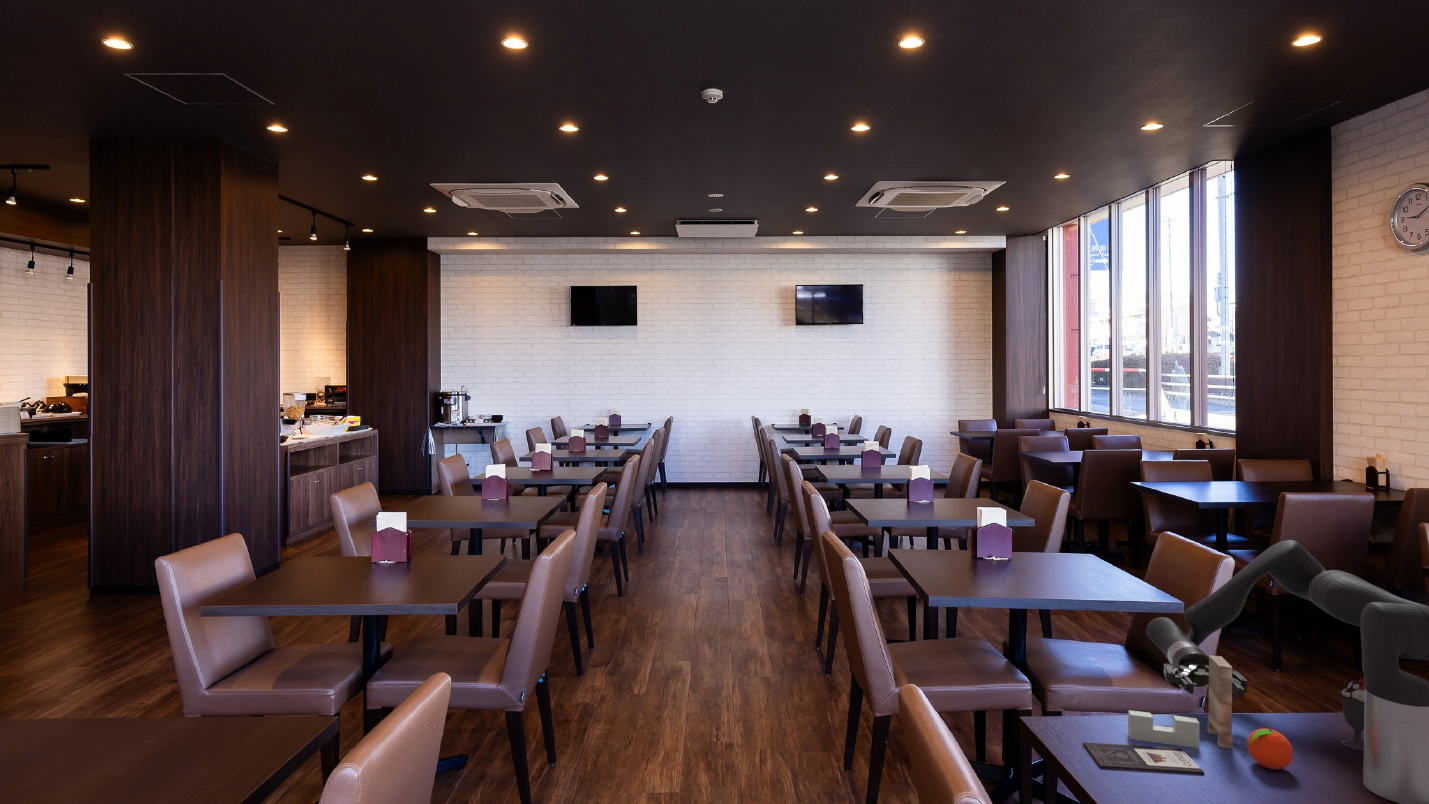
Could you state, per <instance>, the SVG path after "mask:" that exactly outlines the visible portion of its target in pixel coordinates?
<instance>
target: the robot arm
mask: <svg viewBox="0 0 1429 804" xmlns="http://www.w3.org/2000/svg"><path fill="white" fill-rule="evenodd" d="M1267 574H1268V575H1270V576H1271V578H1273V579H1274V581H1276V582H1277V583H1278V585H1280V586H1281V587H1282V588H1283V589H1284V590H1285V591H1287V592H1288V593H1290V594H1291V595H1294V596H1296V597H1299V598H1302V599H1304V600H1307V601H1310V602H1312V604H1313V605H1315V606H1317V608H1319V609H1321V610H1322V611H1323V612H1324V613H1326V614H1328V615H1330V616H1332V617H1333V618H1335V619H1336V620H1339V621H1341V622H1344V623H1346V624H1349V625H1352V626H1355V627H1356V626H1357V627H1360V641H1361V643H1360V645H1361V664H1362V665H1361V666H1362V673H1363V678H1364V679H1365V708H1364V730H1363V742H1364V752H1363V766H1362V768H1363V770H1362V776H1363V777H1362V784H1363V786H1364V787H1365V788H1366V789H1367V790H1368V791H1370V792H1371V793H1373V794H1375V795H1376V796H1378V797H1380V798H1383V799H1385V800H1388V801H1392V802H1394V803H1398V804H1429V681H1428V680H1426V679H1424V678H1423V677H1419V676H1418V675H1414V674H1412V673H1409V672H1407V671H1404V670H1401V669H1400V664H1399V659H1410V660H1420V661H1421V660H1422V661H1423V660H1424V661H1429V606H1428V605H1425V604H1423V603H1419V602H1415V601H1412V600H1409V599H1407V598H1402V597H1400V596H1398V595H1395V594H1393V593H1391V592H1389V591H1387V590H1385V589H1383V588H1381V587H1378V586H1377V585H1374V584H1372V583H1370V582H1368V581H1366V580H1364V579H1363V578H1361V577H1359V576H1356V575H1354V574H1353V573H1349V572H1346V571H1343V570H1340V569H1338V570H1337V569H1331V570H1327V569H1326V568H1325V567H1324V566H1323V565H1322V563H1320V562H1319V561H1318V560H1317V559H1316V557H1314V556H1313V555H1312V554H1311V553H1310V552H1309V551H1308V550H1307V549H1306V548H1305V547H1304V546H1303V545H1302V544H1301V543H1299V541H1296V540H1293V539H1285V540H1282V541H1279V542H1276V543H1274V544H1273V545H1271V546H1270V547H1267V549H1265V550H1264V551H1262V552H1261V553H1260V554H1259V555H1257V556H1256V557H1255V558H1254V559H1252V560H1251V561H1250V562H1249V563H1248V564H1246V565H1245V566H1244V567H1243V568H1242V569H1241V570H1239V571H1238V572H1237V573H1236V574H1234V576H1232V577H1231V578H1230V579H1229V580H1228V581H1226V583H1224V584H1223V585H1222V586H1220V587H1219V588H1218V589H1217V590H1215V591H1213V592H1212V593H1211V594H1209V595H1208V596H1206V597H1204V598H1203V599H1201V600H1199V601H1197V602H1196V603H1194V604H1193V605H1192V606H1190V607H1188V608H1187V609H1186V610H1184V612H1183V617H1184V619H1185V621H1186V622H1187V624H1188V625H1189V627H1190V630H1189V632H1188V633H1185V631H1184V630H1182V629H1181V627H1180V626H1179V625H1177V624H1176V623H1175V621H1174V620H1172V619H1171V618H1168V617H1164V616H1160V617H1155V618H1153V619H1152V620H1150V622H1148V624H1147V626H1146V635H1147V637H1148V639H1149V640H1150V641H1151V642H1152V643H1153V644H1154V645H1155V647H1157V648H1158V649H1159V650H1160V651H1161V652H1162V653H1163V655H1164V656H1165V658H1166V660H1167V661H1168V662H1169V663H1163V676H1164V678H1165V680H1166V681H1167V683H1168V685H1170V686H1175V685H1178V686H1179V687H1181V688H1183V690H1184V691H1185V692H1187V693H1188V694H1194V687H1197V688H1201V687H1202V688H1203V687H1206V686H1207V687H1209V655H1207V653H1206V652H1205V651H1204V650H1203V649H1202V648H1201V647H1199V646H1200V645H1201V644H1202V643H1204V641H1205V640H1206V639H1207V638H1208V637H1209V636H1210V635H1212V634H1213V633H1215V632H1217V631H1219V630H1221V629H1223V627H1225V626H1227V625H1229V624H1230V623H1232V622H1233V621H1234V620H1236V618H1237V617H1238V616H1239V615H1240V614H1241V612H1242V610H1243V609H1244V605H1245V603H1246V600H1247V598H1248V596H1249V593H1250V592H1251V591H1252V588H1253V587H1254V586H1255V584H1256V583H1257V582H1258V581H1259V580H1260V579H1261V578H1263V577H1265V575H1267ZM1245 693H1248V680H1247V679H1246V678H1245V677H1244V676H1243V675H1242V674H1241V673H1240V672H1239V671H1237V670H1234V669H1232V695H1234V697H1236V699H1240V700H1242V699H1243V697H1245Z"/></svg>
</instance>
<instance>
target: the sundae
mask: <svg viewBox="0 0 1429 804" xmlns="http://www.w3.org/2000/svg"><path fill="white" fill-rule="evenodd" d="M1343 687H1344V688H1343V689H1339V688H1337V690H1336V694H1337V695H1338V697H1339V698H1340V700H1341V705H1342V712H1343V717H1344V720H1345V722H1346V723H1347V724H1348V725H1349V726H1350V727H1351V728H1353V737H1352V738H1351V740H1345V741H1342V740H1341V741H1342V742H1344V743H1343V744H1346V746H1348V747H1349V748H1348V747H1347V748H1348V749H1350V748H1354V749H1355V750H1354V751H1357V750H1358V751H1357V752H1361V751H1364V739H1363V737H1362V736H1363V735H1362V733H1363V731H1364V708H1365V679H1364V677H1363V678H1361V679H1359V680H1353V681H1352V680H1349V679H1348V678H1347V679H1346V678H1345V680H1344V685H1343ZM1343 744H1342V745H1343ZM1346 746H1345V747H1346Z"/></svg>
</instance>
